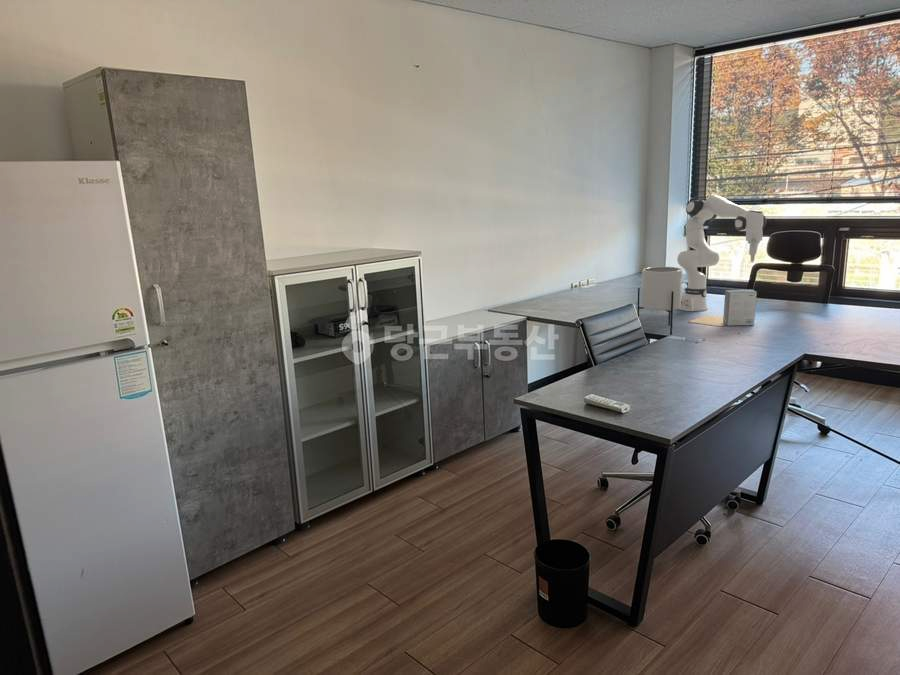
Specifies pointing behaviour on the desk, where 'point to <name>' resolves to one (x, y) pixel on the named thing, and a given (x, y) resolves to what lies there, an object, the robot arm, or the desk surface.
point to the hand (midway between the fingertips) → (752, 260)
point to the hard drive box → (739, 307)
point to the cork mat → (709, 321)
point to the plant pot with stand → (661, 290)
